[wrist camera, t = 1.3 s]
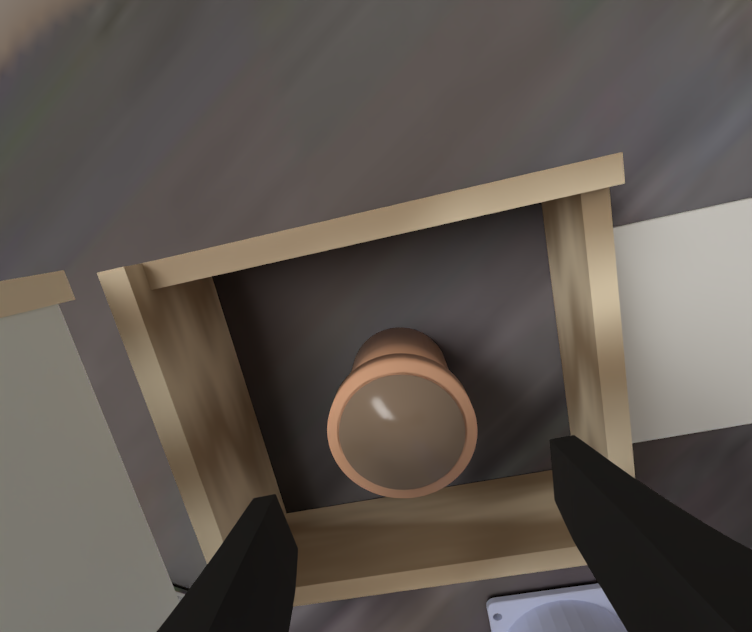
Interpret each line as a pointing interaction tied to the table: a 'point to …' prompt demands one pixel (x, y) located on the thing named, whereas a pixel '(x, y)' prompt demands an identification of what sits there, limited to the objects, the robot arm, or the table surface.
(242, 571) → the robot arm
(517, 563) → the cold frame
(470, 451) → the terracotta flower pot
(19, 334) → the lid
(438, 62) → the table surface
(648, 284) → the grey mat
